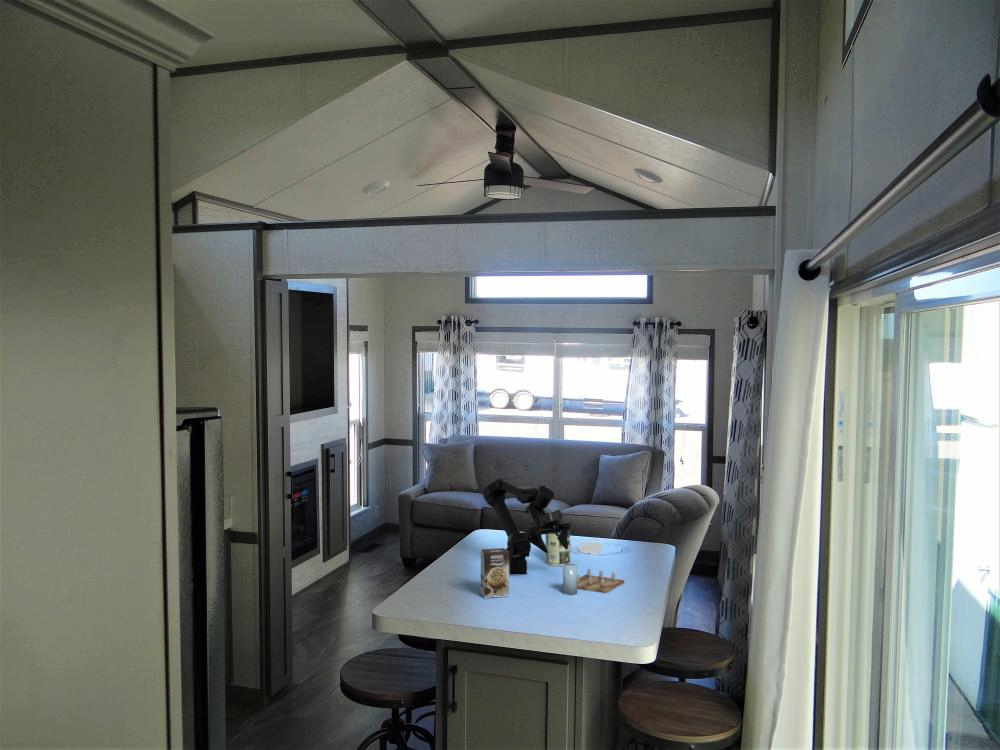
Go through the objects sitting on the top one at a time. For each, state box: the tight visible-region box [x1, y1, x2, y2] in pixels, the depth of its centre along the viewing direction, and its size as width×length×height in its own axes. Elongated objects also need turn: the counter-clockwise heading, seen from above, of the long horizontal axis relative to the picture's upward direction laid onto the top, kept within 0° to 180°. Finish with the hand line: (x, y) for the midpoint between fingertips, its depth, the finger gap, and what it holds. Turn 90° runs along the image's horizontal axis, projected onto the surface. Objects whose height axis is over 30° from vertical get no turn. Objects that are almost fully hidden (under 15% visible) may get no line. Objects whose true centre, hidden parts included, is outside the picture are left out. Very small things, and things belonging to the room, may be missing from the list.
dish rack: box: [577, 568, 626, 594], centre depth 295 cm, size 16×16×4 cm
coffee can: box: [545, 526, 571, 567], centre depth 328 cm, size 10×10×14 cm
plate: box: [570, 540, 616, 557], centre depth 352 cm, size 28×28×1 cm
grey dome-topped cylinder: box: [562, 563, 578, 596], centre depth 284 cm, size 5×5×10 cm
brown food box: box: [480, 547, 510, 598], centre depth 282 cm, size 9×6×16 cm
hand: (557, 550), depth 291 cm, fingers open, 9 cm apart
